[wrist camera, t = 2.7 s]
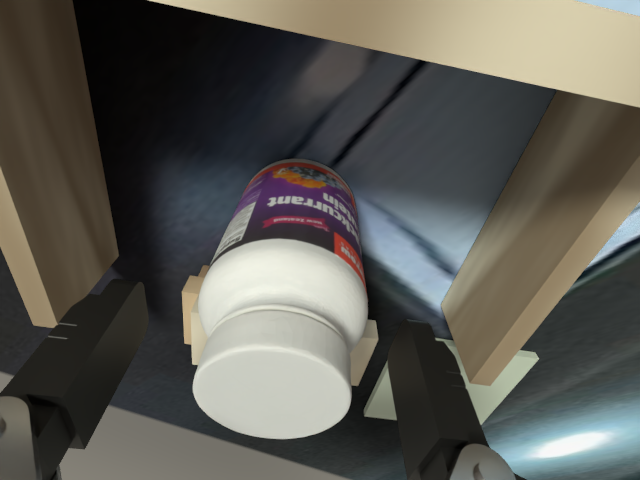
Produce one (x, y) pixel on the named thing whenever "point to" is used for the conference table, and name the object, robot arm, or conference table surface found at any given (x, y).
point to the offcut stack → (198, 337)
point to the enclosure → (383, 35)
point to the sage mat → (480, 395)
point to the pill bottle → (283, 306)
